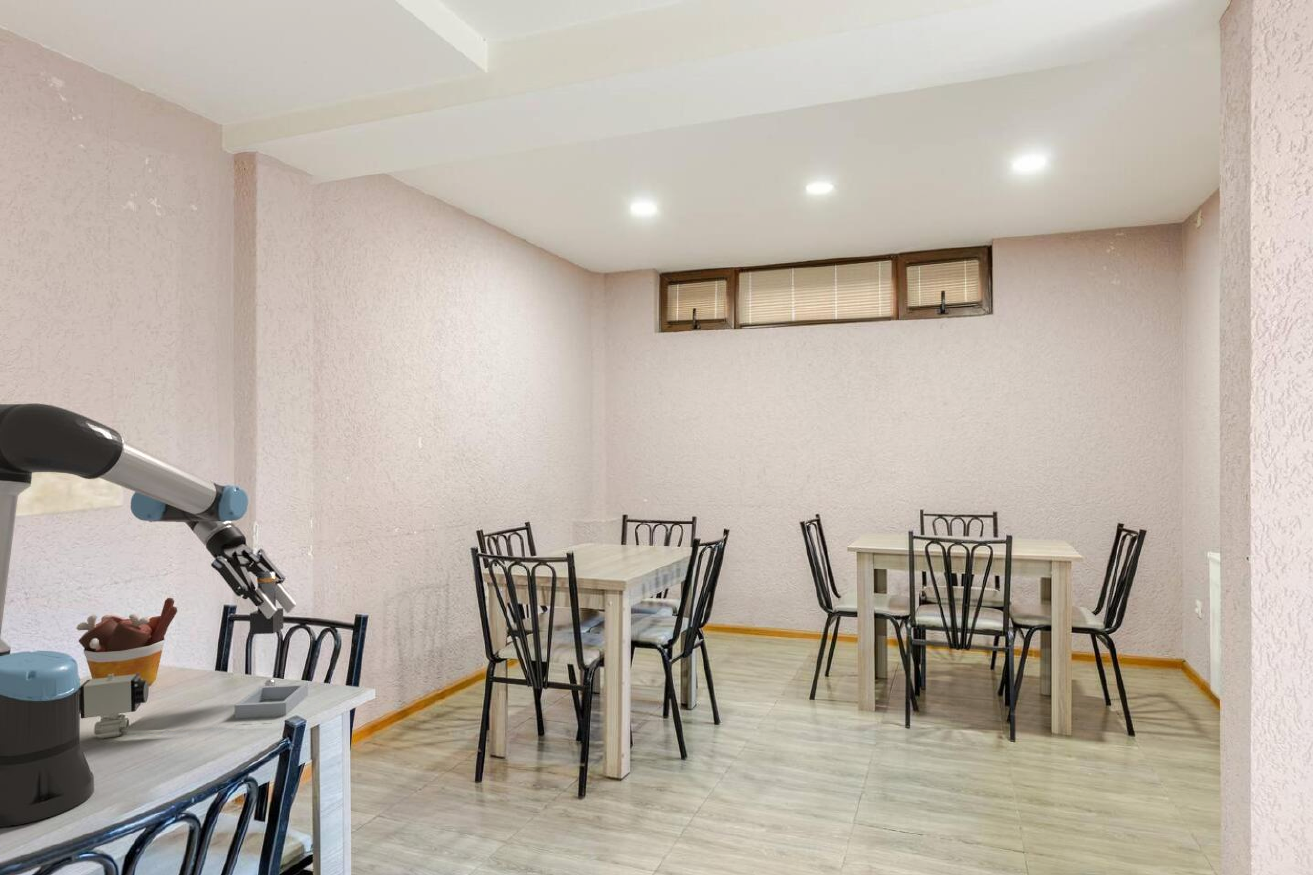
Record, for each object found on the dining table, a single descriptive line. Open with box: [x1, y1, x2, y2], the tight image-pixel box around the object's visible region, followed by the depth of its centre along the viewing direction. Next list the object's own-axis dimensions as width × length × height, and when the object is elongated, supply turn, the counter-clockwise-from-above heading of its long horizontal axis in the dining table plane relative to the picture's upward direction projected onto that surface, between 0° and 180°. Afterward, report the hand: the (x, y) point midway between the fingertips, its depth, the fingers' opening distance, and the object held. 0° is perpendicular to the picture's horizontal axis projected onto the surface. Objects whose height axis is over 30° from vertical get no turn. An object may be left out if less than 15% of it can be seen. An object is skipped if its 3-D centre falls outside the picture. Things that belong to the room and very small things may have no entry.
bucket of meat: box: [76, 597, 178, 686], centre depth 181 cm, size 20×16×20 cm
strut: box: [249, 571, 284, 635], centre depth 170 cm, size 5×5×13 cm
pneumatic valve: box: [80, 674, 150, 740], centre depth 151 cm, size 6×12×12 cm, turn 112°
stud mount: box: [264, 678, 277, 686], centre depth 170 cm, size 7×7×4 cm
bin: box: [234, 683, 309, 726], centre depth 161 cm, size 12×10×4 cm
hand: (282, 611), depth 169 cm, fingers closed on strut, 5 cm apart
